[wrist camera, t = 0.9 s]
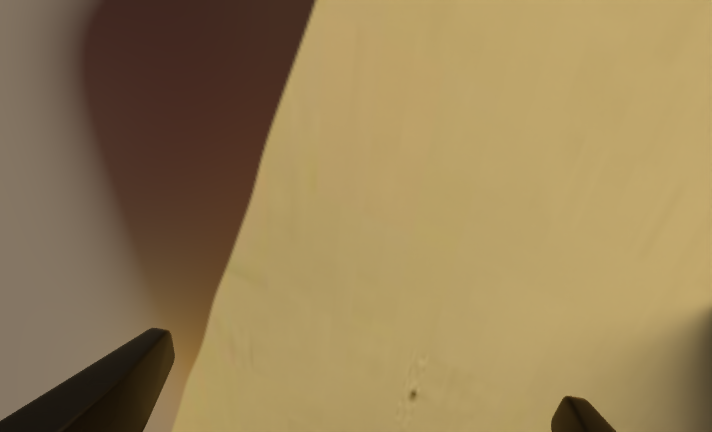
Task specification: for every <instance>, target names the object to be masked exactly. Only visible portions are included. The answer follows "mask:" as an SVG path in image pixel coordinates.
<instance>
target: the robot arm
mask: <svg viewBox="0 0 712 432" xmlns="http://www.w3.org/2000/svg"><path fill="white" fill-rule="evenodd" d="M174 358H175V353H174V347H173V341H172V335H171V333H170V331H169V330H164V329H158V328H151V329H149V330H147V331H145V332H144V333H142V334H140V335H139V336H137V337H136V338H134V339H132V340H131V341H129V342H128V343H126V344H124V345H123V346H121V347H119V348H118V349H116V350H115V351H113V352H111V353H110V354H108V355H106V356H105V357H103V358H102V359H100V360H98V361H97V362H95V363H94V364H92V365H90V366H89V367H87V368H85V369H84V370H82V371H81V372H79V373H77V374H76V375H74V376H72V377H71V378H69V379H68V380H66V381H64V382H63V383H61V384H59V385H58V386H56V387H55V388H53V389H51V390H50V391H48V392H47V393H45V394H43V395H42V396H40V397H38V398H37V399H35V400H34V401H32V402H30V403H29V404H27V405H25V406H24V407H22V408H21V409H19V410H17V411H16V412H14V413H12V414H11V415H9V416H8V417H6V418H4V419H3V420H1V421H0V432H143V430H144V428H145V426H146V424H147V422H148V419H149V417H150V415H151V413H152V411H153V408H154V406H155V404H156V402H157V399H158V397H159V395H160V392H161V390H162V388H163V386H164V383H165V381H166V379H167V377H168V374H169V372H170V370H171V367H172V365H173V363H174ZM551 430H552V432H616V431H615V430H614V429H613V428H612V427H611V425H610V424H609V423H608V422H607V421H606V420H605V419H604V418H603V417H602V416H601V415H600V414H599V413H598V411H597V410H596V409H595V408H594V407H593V406H592V405H591V404H590V403H589V402H588V401H587V400H585V399H583V398H579V397H572V396H565V397H564V398H563V399H562V401H561V403H560V405H559V406H558V408H557V410H556V412H555V414H554V416H553V418H552V422H551Z"/></svg>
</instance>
